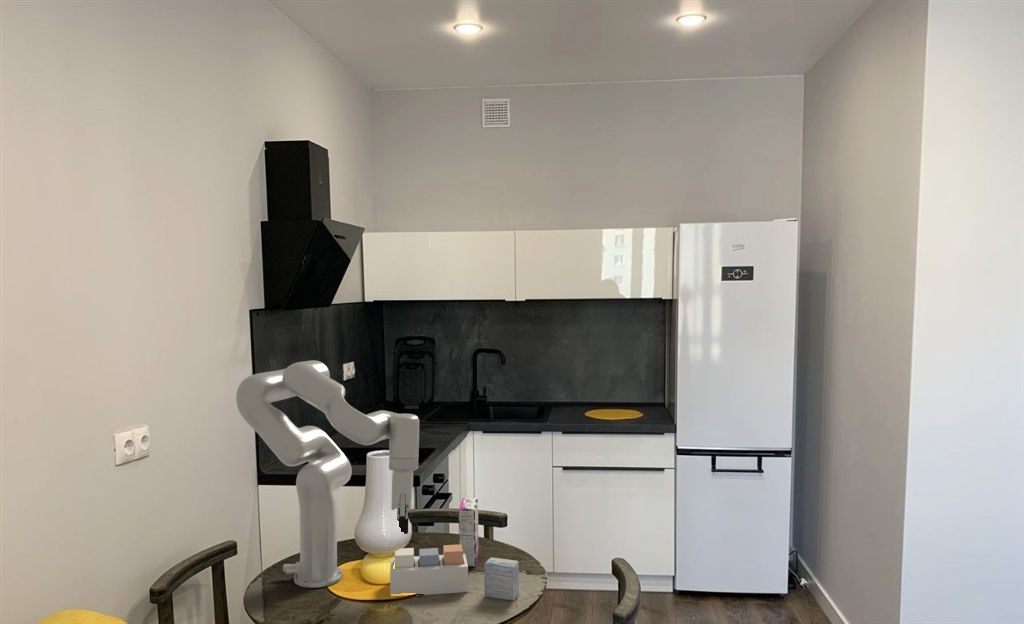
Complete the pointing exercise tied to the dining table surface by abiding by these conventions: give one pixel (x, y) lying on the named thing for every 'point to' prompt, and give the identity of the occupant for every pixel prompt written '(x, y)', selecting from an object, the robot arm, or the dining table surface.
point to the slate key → (428, 557)
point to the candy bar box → (469, 529)
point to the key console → (429, 578)
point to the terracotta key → (452, 554)
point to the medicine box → (501, 578)
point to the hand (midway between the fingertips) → (401, 532)
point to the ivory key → (404, 558)
